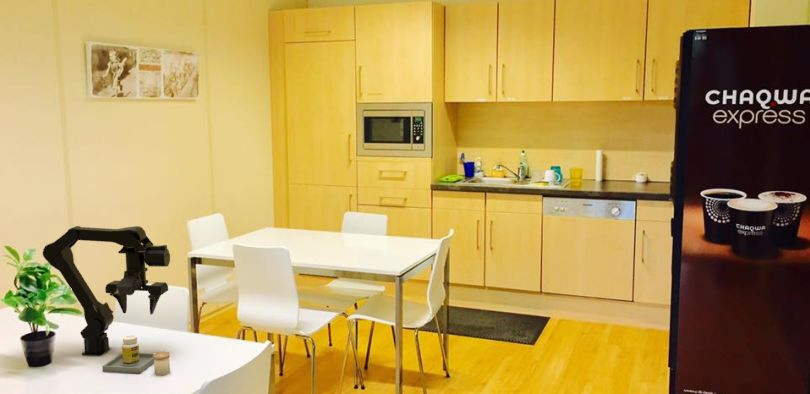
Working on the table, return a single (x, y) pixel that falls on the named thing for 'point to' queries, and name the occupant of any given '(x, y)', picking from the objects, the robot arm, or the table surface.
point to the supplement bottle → (130, 351)
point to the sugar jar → (161, 363)
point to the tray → (118, 366)
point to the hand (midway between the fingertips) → (138, 313)
